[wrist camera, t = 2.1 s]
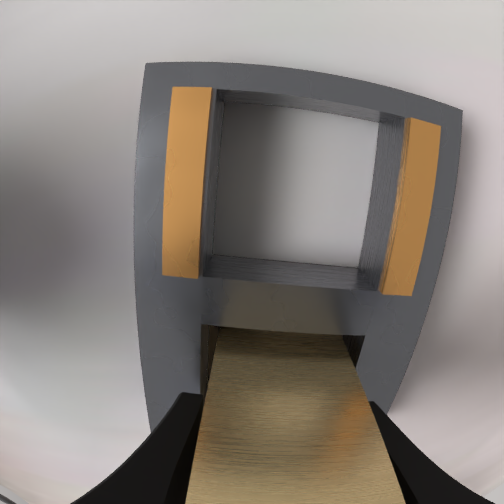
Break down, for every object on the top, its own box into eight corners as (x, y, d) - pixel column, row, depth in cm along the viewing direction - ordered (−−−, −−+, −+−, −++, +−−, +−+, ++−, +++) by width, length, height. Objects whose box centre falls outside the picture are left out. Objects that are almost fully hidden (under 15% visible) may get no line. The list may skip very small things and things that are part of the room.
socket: (359, 417, 13) (370, 451, 11) (162, 405, 13) (150, 440, 11) (431, 115, 9) (466, 109, 7) (165, 78, 9) (143, 61, 7)
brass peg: (313, 398, 13) (347, 596, 4) (218, 392, 13) (189, 599, 4) (333, 317, 11) (421, 554, 3) (223, 309, 11) (173, 569, 3)
